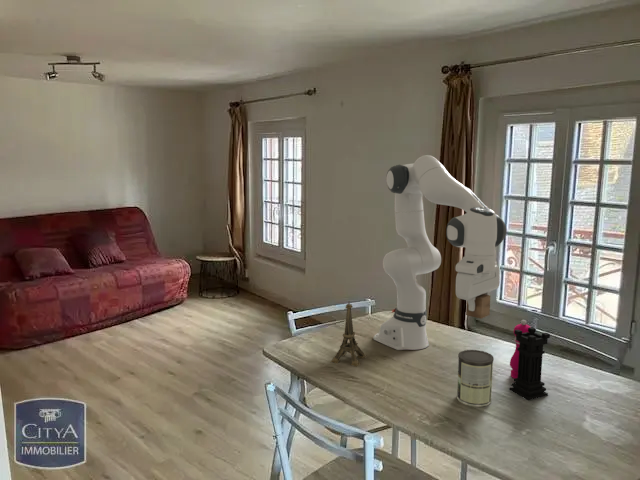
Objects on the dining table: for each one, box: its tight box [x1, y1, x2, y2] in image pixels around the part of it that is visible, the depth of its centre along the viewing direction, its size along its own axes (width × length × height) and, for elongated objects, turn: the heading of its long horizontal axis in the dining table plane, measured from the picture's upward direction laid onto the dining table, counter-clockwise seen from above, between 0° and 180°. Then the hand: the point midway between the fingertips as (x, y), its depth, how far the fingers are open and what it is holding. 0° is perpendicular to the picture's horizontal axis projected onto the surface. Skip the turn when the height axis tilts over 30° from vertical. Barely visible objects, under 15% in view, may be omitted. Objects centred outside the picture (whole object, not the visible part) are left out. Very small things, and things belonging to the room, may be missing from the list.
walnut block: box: [465, 294, 491, 319], centre depth 156 cm, size 5×5×6 cm
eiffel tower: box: [330, 302, 368, 367], centre depth 190 cm, size 11×11×25 cm
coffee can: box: [456, 349, 495, 408], centre depth 159 cm, size 10×10×14 cm
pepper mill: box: [509, 319, 531, 380], centre depth 175 cm, size 7×7×20 cm
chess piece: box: [508, 326, 551, 401], centre depth 163 cm, size 8×8×20 cm
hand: (477, 308), depth 156 cm, fingers closed on walnut block, 5 cm apart
